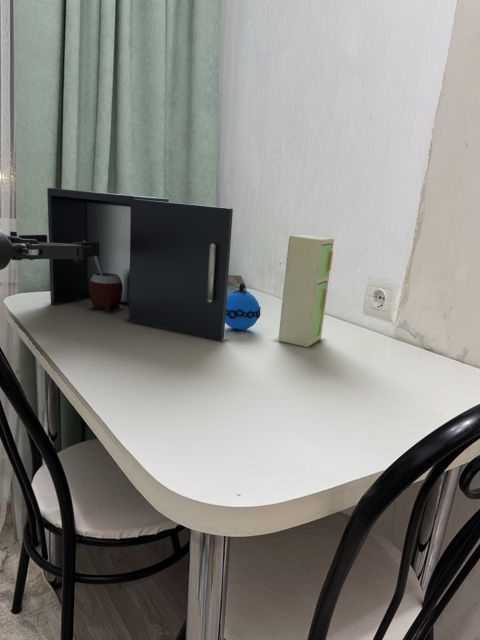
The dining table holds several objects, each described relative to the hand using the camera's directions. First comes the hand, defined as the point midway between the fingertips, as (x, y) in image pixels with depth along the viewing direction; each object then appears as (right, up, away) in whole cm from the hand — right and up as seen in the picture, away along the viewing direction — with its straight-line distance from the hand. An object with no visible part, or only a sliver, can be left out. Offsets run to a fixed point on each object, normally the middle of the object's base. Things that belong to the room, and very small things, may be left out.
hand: (71, 245), depth 103 cm
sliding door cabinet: (+13, -14, +9) cm, 21 cm away
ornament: (+34, -17, +6) cm, 38 cm away
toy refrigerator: (+47, -20, +1) cm, 51 cm away
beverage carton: (+30, -9, +32) cm, 45 cm away
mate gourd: (+3, -12, +13) cm, 18 cm away
